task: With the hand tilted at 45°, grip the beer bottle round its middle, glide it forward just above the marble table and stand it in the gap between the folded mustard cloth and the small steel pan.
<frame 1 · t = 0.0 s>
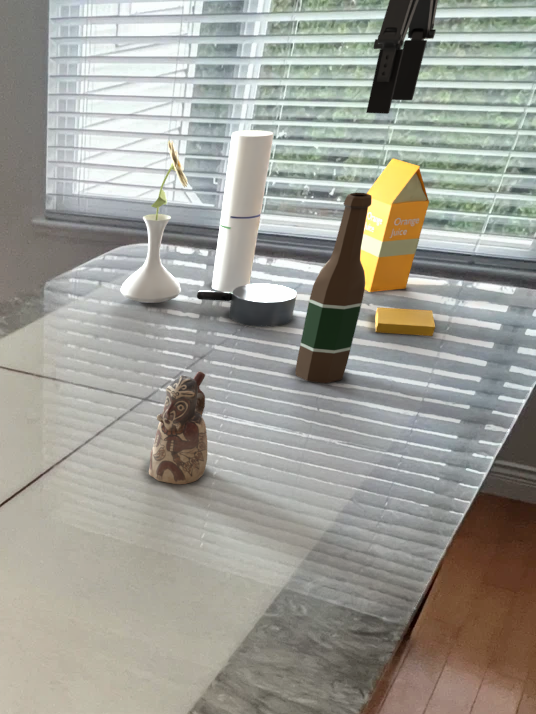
hand: (390, 106, 114), 33 cm above the table, tool pointing down, fingers open, 13 cm apart
mustard cloth: (402, 325, 145), on the table
beer bottle: (319, 375, 130), on the table
steel pan: (260, 316, 151), on the table
cylindrical container: (230, 288, 165), on the table
orange juice: (375, 285, 163), on the table
figurine: (176, 472, 107), on the table
flower in vase: (151, 299, 161), on the table
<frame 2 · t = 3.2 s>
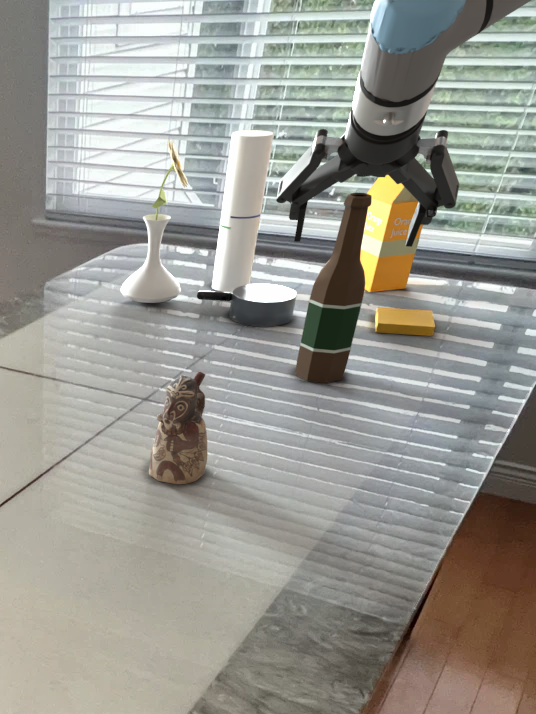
hand: (353, 234, 108), 21 cm above the table, tool tilted 45°, fingers open, 13 cm apart
nothing on the table moved.
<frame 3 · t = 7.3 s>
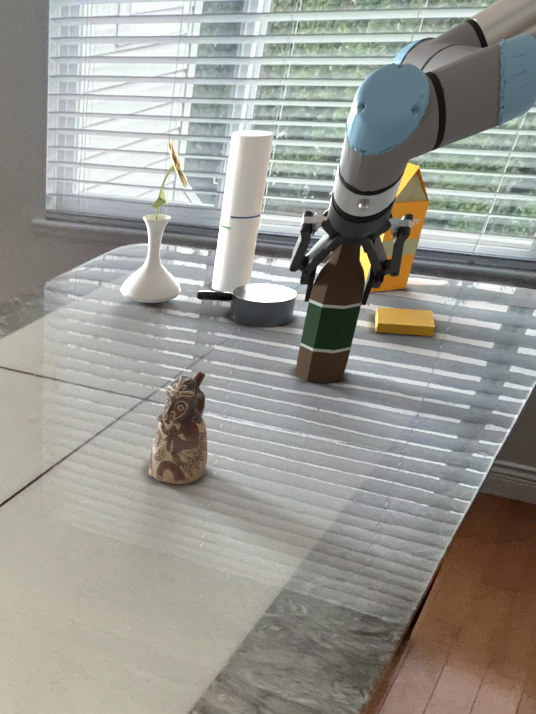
hand: (336, 294, 125), 11 cm above the table, tool tilted 45°, fingers closed on beer bottle, 7 cm apart
beer bottle: (319, 375, 130), on the table, touching gripper
everything else where it was.
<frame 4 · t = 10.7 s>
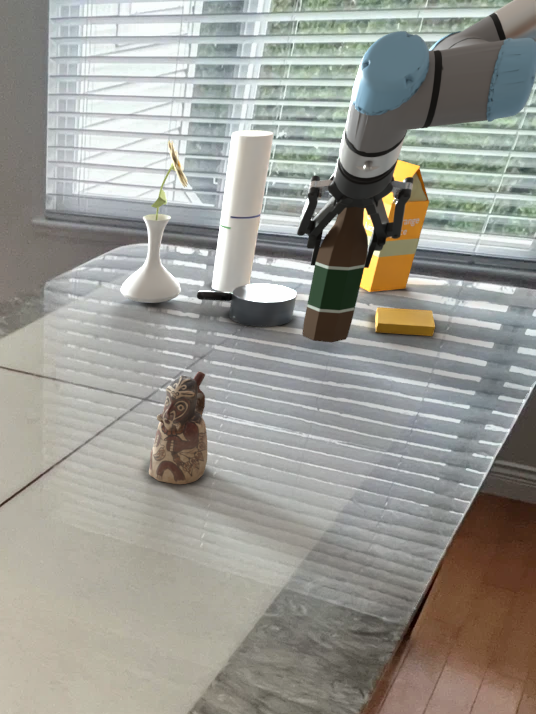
hand: (340, 258, 133), 12 cm above the table, tool tilted 45°, fingers closed on beer bottle, 7 cm apart
beer bottle: (324, 336, 138), point 2 cm above the table, touching gripper
everything else where it was.
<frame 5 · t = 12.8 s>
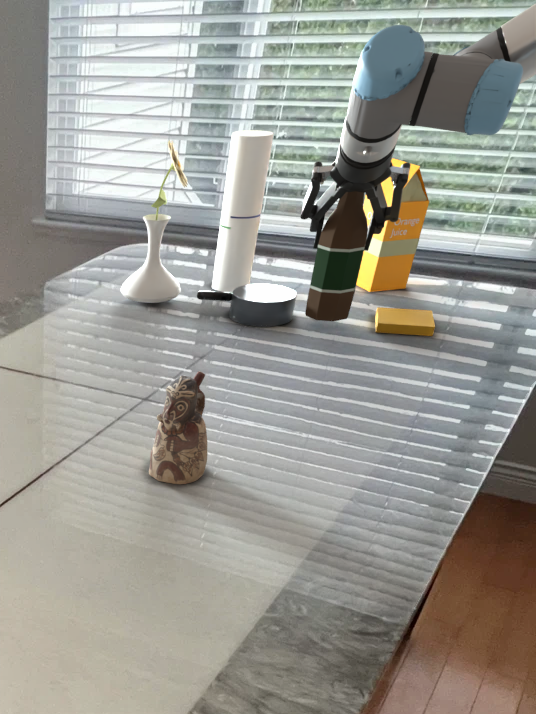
hand: (341, 241, 140), 12 cm above the table, tool tilted 45°, fingers closed on beer bottle, 7 cm apart
beer bottle: (326, 316, 145), point 2 cm above the table, touching gripper
everything else where it was.
when the fingers open (11 cm above the table, at t = 14.4 s): beer bottle stays where it is, on the table.
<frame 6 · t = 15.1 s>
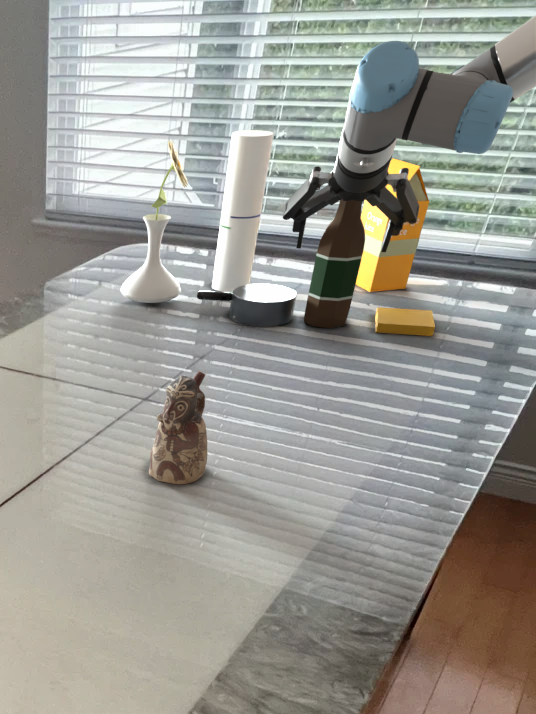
hand: (341, 242, 141), 12 cm above the table, tool tilted 45°, fingers open, 13 cm apart
beer bottle: (324, 322, 148), on the table
everything else where it was.
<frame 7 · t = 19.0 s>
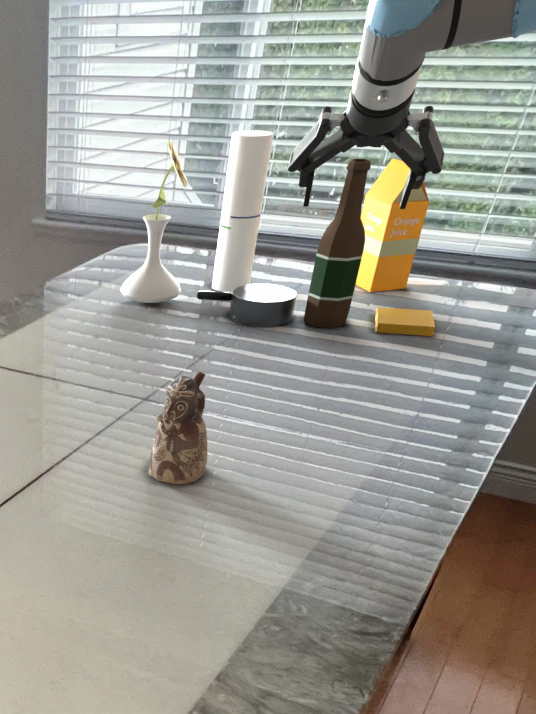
hand: (354, 199, 125), 21 cm above the table, tool tilted 45°, fingers open, 13 cm apart
nothing on the table moved.
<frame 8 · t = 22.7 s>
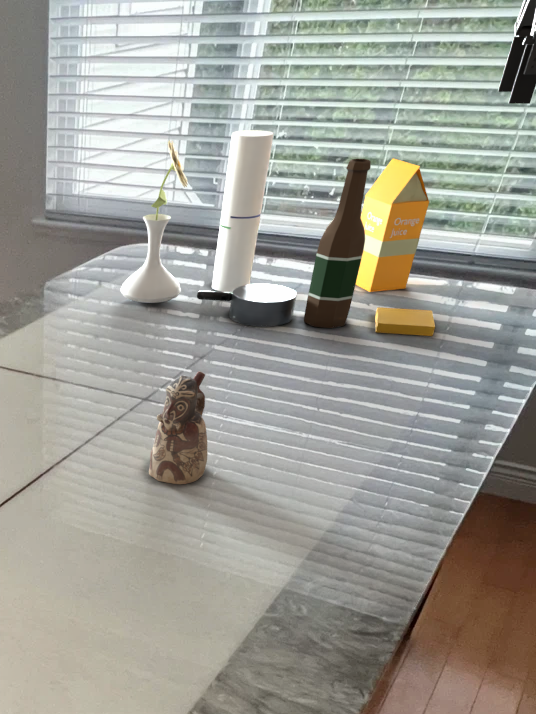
hand: (512, 97, 124), 32 cm above the table, tool pointing down, fingers open, 13 cm apart
nothing on the table moved.
at the end: beer bottle inside the target area on the table beside the steel pan (0.1 cm from its centre), on the table; beer bottle tilted 0°; beer bottle moved 26.0 cm from its start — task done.
